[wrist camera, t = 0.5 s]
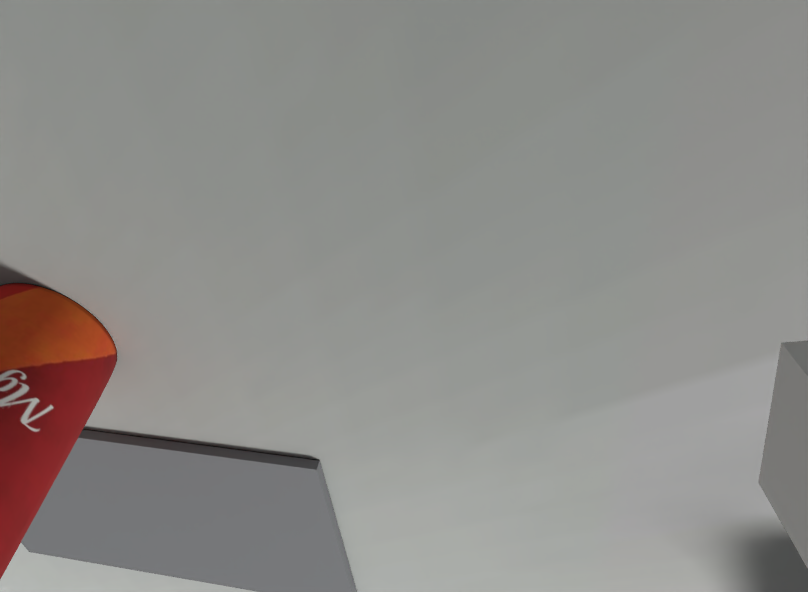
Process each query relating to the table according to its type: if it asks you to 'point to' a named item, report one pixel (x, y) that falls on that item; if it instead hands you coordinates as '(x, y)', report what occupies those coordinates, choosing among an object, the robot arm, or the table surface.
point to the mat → (194, 515)
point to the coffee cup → (43, 396)
